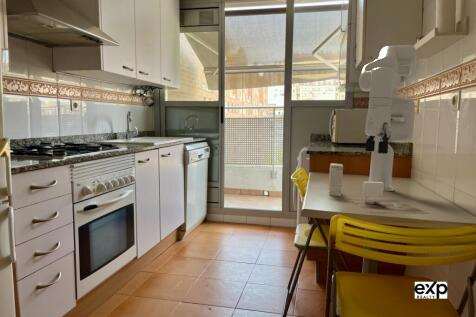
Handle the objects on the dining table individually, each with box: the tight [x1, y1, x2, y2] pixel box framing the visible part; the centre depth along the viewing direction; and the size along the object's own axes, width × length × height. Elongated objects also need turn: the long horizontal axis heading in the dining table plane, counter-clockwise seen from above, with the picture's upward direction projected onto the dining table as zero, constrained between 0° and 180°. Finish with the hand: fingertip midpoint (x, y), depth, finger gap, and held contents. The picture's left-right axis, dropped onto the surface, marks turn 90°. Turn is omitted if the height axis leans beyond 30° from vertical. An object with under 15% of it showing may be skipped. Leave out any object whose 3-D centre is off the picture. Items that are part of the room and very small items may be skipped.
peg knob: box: [361, 181, 386, 208], centre depth 127 cm, size 12×7×8 cm, turn 5°
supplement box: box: [327, 162, 344, 197], centre depth 145 cm, size 8×5×13 cm, turn 168°
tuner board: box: [343, 196, 430, 215], centre depth 129 cm, size 24×20×1 cm
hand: (375, 152), depth 129 cm, fingers open, 9 cm apart
